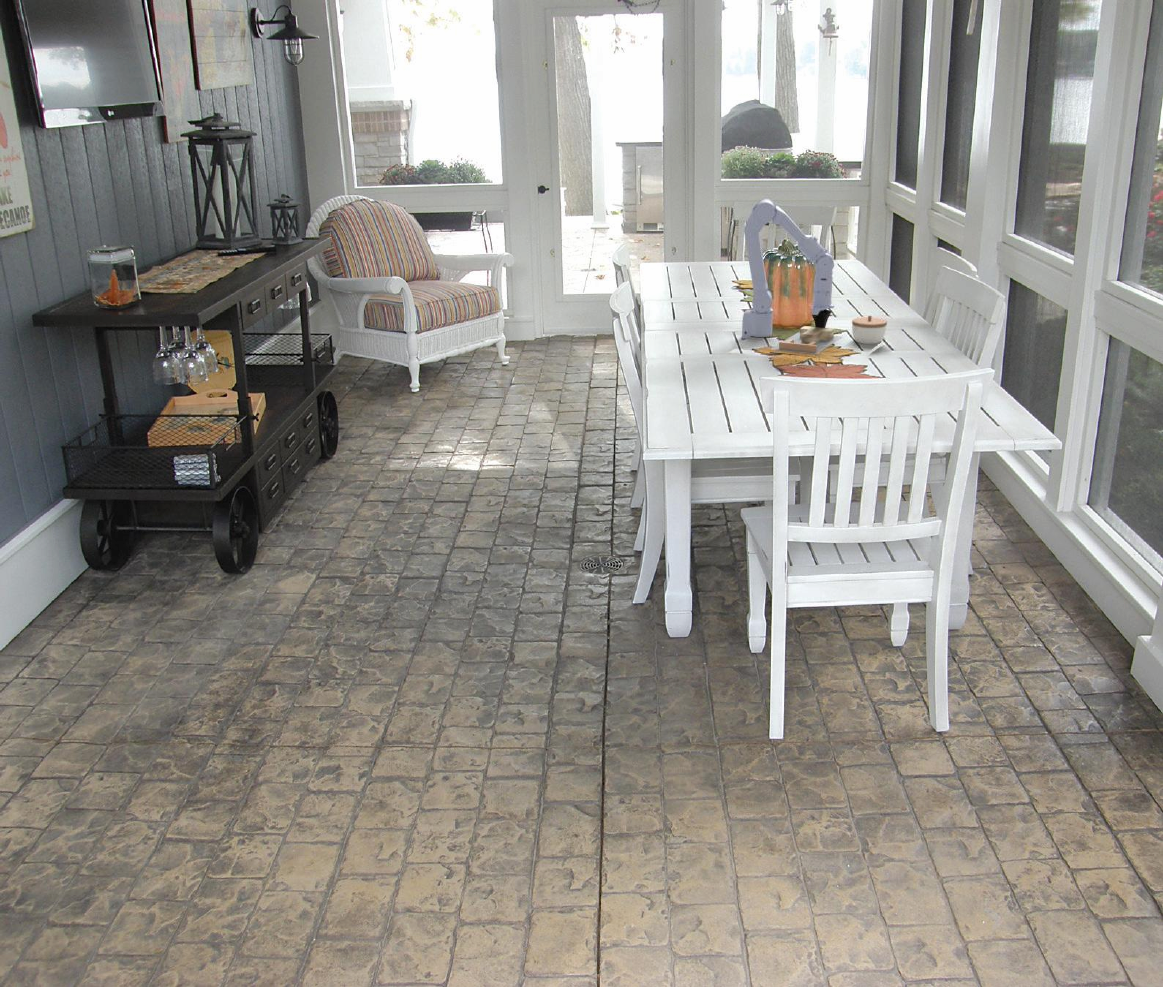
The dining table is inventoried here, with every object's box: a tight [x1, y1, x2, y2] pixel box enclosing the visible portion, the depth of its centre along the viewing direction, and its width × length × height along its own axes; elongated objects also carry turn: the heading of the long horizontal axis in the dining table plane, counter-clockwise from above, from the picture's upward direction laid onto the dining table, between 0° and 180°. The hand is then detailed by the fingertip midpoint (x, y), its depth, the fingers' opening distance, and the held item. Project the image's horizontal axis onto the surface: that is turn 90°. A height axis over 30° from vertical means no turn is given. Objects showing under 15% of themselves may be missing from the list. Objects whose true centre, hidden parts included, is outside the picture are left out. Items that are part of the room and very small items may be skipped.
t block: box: [799, 325, 835, 344], centre depth 356 cm, size 10×11×3 cm
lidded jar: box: [851, 314, 888, 347], centre depth 354 cm, size 11×11×9 cm
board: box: [769, 331, 843, 356], centre depth 353 cm, size 15×26×3 cm, turn 150°
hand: (820, 332), depth 362 cm, fingers closed
